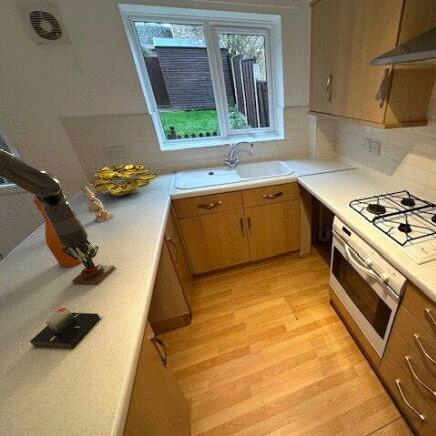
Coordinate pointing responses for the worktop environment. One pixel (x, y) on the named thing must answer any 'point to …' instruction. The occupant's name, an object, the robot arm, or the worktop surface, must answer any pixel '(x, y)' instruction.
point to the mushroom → (118, 188)
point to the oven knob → (60, 320)
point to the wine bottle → (55, 242)
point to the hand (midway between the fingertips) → (90, 267)
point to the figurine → (96, 206)
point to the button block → (94, 275)
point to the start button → (91, 269)
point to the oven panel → (67, 332)
